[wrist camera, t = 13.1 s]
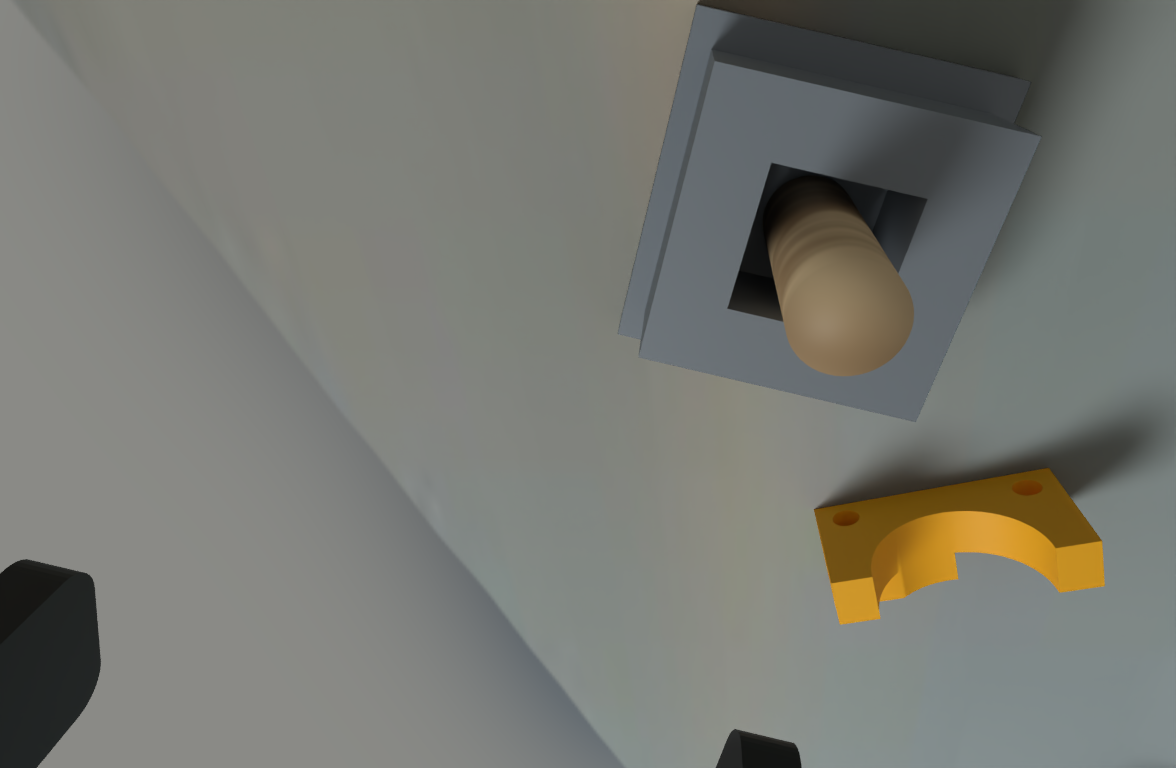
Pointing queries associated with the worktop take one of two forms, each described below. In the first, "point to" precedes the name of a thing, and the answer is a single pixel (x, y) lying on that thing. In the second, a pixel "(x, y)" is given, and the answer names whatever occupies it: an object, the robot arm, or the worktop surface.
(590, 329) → the worktop surface
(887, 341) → the oak peg
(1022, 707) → the worktop surface
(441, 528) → the worktop surface
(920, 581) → the pipe clamp
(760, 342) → the socket block
